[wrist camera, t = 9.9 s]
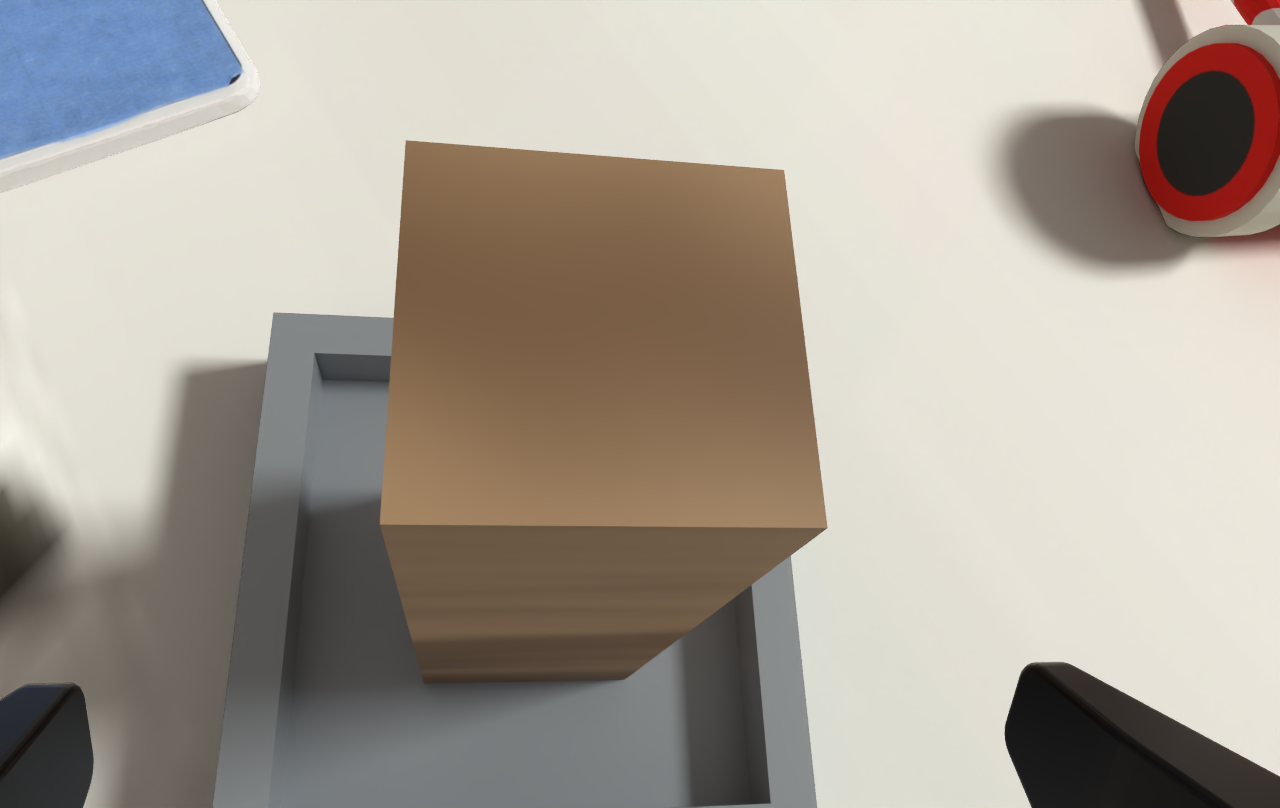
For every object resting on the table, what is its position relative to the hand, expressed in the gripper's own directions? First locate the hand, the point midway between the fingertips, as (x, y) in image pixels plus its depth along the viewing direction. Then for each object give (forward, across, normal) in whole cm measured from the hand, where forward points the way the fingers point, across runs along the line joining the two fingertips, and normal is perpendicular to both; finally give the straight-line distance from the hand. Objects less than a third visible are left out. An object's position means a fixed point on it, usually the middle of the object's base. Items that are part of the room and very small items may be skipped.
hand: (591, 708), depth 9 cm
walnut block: (+12, 0, +6) cm, 13 cm away
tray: (+12, 0, +7) cm, 14 cm away
